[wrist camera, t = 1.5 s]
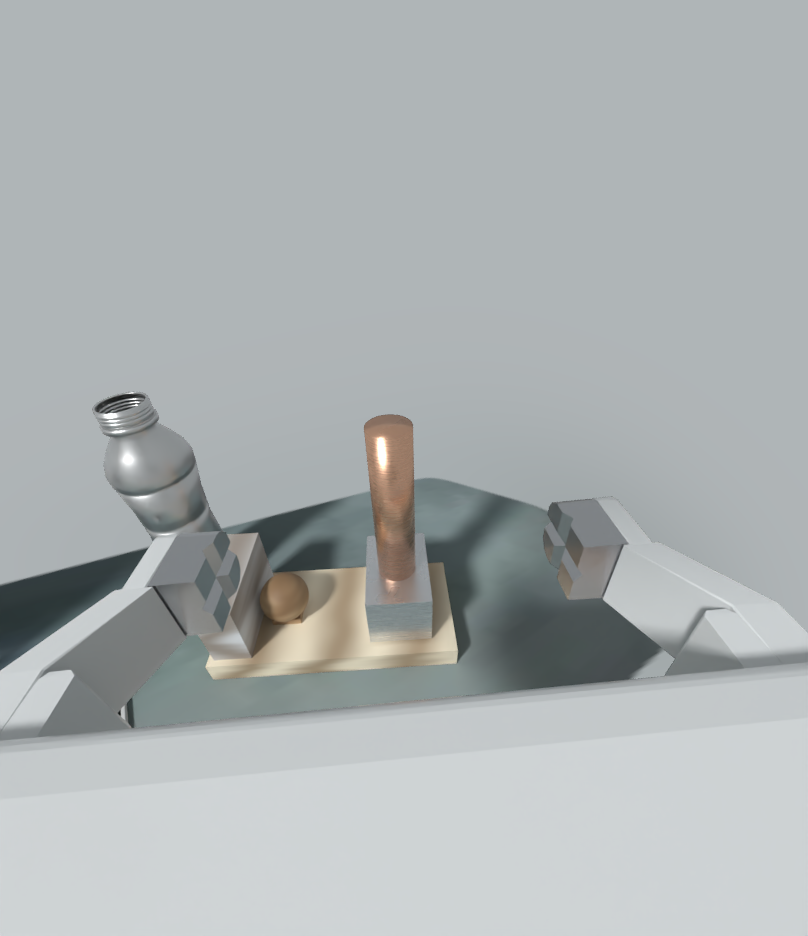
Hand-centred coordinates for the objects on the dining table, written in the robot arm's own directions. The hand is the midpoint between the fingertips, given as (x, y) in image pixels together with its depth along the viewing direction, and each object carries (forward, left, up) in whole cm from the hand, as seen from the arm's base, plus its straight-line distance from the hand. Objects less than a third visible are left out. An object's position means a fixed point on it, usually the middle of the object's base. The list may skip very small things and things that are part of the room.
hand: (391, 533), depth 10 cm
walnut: (-10, +14, -23) cm, 29 cm away
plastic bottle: (-20, +20, -25) cm, 37 cm away
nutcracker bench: (-6, +14, -25) cm, 29 cm away
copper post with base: (0, +14, -23) cm, 27 cm away
